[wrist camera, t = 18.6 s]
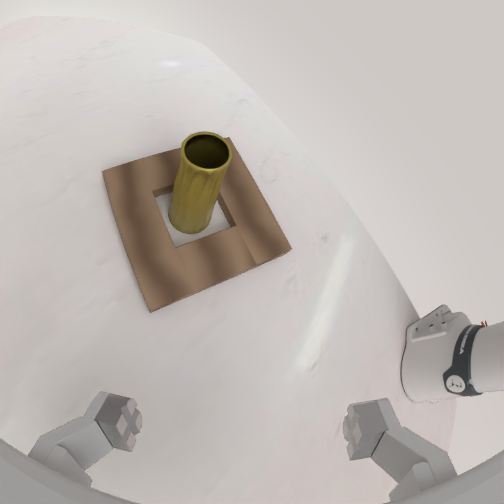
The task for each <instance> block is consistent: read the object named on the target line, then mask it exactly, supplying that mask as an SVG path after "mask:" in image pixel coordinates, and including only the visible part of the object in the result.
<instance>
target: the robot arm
mask: <svg viewBox="0 0 504 504" xmlns="http://www.w3.org/2000/svg"><path fill="white" fill-rule="evenodd" d="M481 324H482V325H472V324H471V322H470V321H469V319H468V318H467V316H466V315H465V314H464V313H462V312H456V313H452V312H451V310H450V309H449V308H448V306H446V305H441V306H439V307H438V308H437V309H435V310H434V311H432V312H431V313H429V314H428V315H426V316H425V317H423V318H422V319H420V320H418V321H417V322H415V323H414V324H412V325H411V326H409V327H408V329H407V344H406V349H405V352H404V356H403V361H402V382H403V387H404V390H405V392H406V394H407V396H408V397H409V398H410V399H411V400H412V401H414V402H424V401H428V402H430V403H437V402H438V401H439V400H444V399H452V398H458V397H462V396H470V397H472V396H476V395H481V394H482V393H484V392H494V391H504V322H501V323H497V324H495V325H491V326H487V323H486V321H485V324H486V327H485V325H484V323H483V322H481ZM136 405H137V404H136V402H135V400H134V399H132V398H127V397H123V396H119V395H114V394H110V393H106V392H102V391H101V392H99V393H98V394H97V395H96V397H95V398H94V400H93V402H92V403H91V405H90V406H89V408H88V410H87V411H86V413H85V415H84V416H83V417H81V416H80V417H78V418H76V419H74V420H72V421H70V422H68V423H66V424H64V425H62V426H60V427H58V428H56V429H54V430H52V431H50V432H48V433H46V434H44V435H42V436H40V437H39V439H38V440H37V442H36V444H35V445H34V447H33V448H32V450H31V451H30V453H29V454H28V456H27V455H25V454H24V453H22V452H20V451H19V450H17V449H16V448H14V447H13V446H11V445H10V444H8V443H7V442H5V441H4V440H2V439H1V438H0V504H139V503H136V502H132V501H129V500H125V499H122V498H119V497H116V496H113V495H110V494H107V493H104V492H102V491H99V490H96V489H94V488H91V487H90V485H91V483H92V479H91V477H90V476H89V475H88V474H87V473H86V472H85V470H86V469H87V468H89V467H90V466H91V465H93V464H94V463H95V462H97V461H98V460H99V459H101V458H102V457H103V456H105V455H106V454H107V453H109V452H110V451H111V450H112V449H113V448H116V449H120V450H125V451H129V452H132V450H133V447H134V445H135V442H136V438H135V435H136V434H138V433H139V432H140V430H141V427H142V416H141V413H140V411H138V410H137V409H136V408H135V407H136ZM347 412H348V415H347V416H346V417H345V418H344V422H343V434H344V439H346V440H347V441H348V442H349V443H348V445H347V451H348V455H349V459H350V460H357V459H363V458H368V457H371V459H372V460H373V461H374V462H375V463H376V464H378V465H379V466H380V467H381V468H382V469H383V470H384V471H385V472H386V473H388V474H389V475H390V476H391V477H392V478H393V479H394V480H396V481H397V482H398V485H397V486H396V487H395V488H394V489H393V490H392V491H391V492H390V494H389V497H390V501H391V502H387V503H384V504H504V450H503V451H501V452H500V453H498V454H497V455H495V456H493V457H492V458H490V459H488V460H487V461H485V462H483V463H481V464H480V465H478V466H476V467H474V468H472V469H470V470H468V471H466V472H464V473H462V474H460V475H457V473H456V471H455V469H454V466H453V464H452V462H451V460H450V458H449V456H448V454H447V452H446V451H444V450H442V449H440V448H439V447H437V446H435V445H434V444H432V443H430V442H429V441H427V440H425V439H424V438H422V437H420V436H419V435H417V434H415V433H414V432H412V431H411V430H409V429H407V428H406V427H401V426H400V423H399V421H398V419H397V417H396V414H395V412H394V410H393V408H392V406H391V404H390V401H389V399H387V398H383V399H378V400H371V401H365V402H359V403H352V404H349V406H348V408H347Z"/></svg>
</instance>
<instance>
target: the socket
mask: <svg viewBox="0 0 504 504" xmlns="http://www.w3.org/2000/svg"><path fill="white" fill-rule="evenodd" d="M224 139H225V140H226V141H227V142H228V143H229V145H230V147H231V151H232V158H231V160H230V163H229V165H228V167H227V170H226V173H225V175H224V178H223V181H222V184H221V187H220V190H219V193H218V196H217V200H218V202H219V204H220V206H221V208H222V210H223V212H224V214H225V216H226V218H227V220H228V222H229V224H230V226H231V228H229V229H226V230H223V231H220V232H218V233H215V234H212V235H209V236H207V237H204V238H201V239H198V240H196V241H193V242H190V243H188V244H185V245H182V246H180V247H177V248H175V246H174V244H173V242H172V239H171V237H170V234H169V232H168V230H167V227H166V225H165V222H164V220H163V217H162V215H161V212H160V210H159V207H158V205H157V202H156V200H155V197H157V196H160V195H163V194H166V193H169V192H172V191H173V188H174V182H175V179H176V176H177V173H178V169H179V163H180V157H181V148H178V149H174V150H170V151H167V152H163V153H159V154H155V155H152V156H148V157H145V158H141V159H138V160H135V161H132V162H128V163H125V164H122V165H119V166H116V167H113V168H110V169H107V170H104V171H102V172H103V177H104V181H105V184H106V188H107V192H108V195H109V199H110V202H111V206H112V209H113V212H114V216H115V219H116V222H117V225H118V228H119V231H120V234H121V237H122V240H123V243H124V246H125V249H126V252H127V255H128V257H129V260H130V263H131V265H132V268H133V271H134V273H135V276H136V279H137V281H138V284H139V286H140V289H141V291H142V294H143V296H144V298H145V301H146V303H147V305H148V308H149V310H150V312H153V311H156V310H158V309H160V308H163V307H165V306H167V305H170V304H172V303H174V302H177V301H179V300H181V299H184V298H186V297H188V296H191V295H193V294H195V293H198V292H200V291H202V290H205V289H207V288H209V287H212V286H214V285H216V284H219V283H221V282H223V281H225V280H228V279H230V278H232V277H235V276H237V275H239V274H241V273H244V272H246V271H248V270H251V269H253V268H255V267H257V266H260V265H262V264H264V263H266V262H269V261H271V260H273V259H275V258H278V257H280V256H282V255H284V254H286V253H288V252H289V251H290V250H291V249H292V248H291V246H290V244H289V242H288V241H287V239H286V237H285V235H284V233H283V231H282V230H281V228H280V226H279V224H278V222H277V220H276V218H275V217H274V215H273V213H272V211H271V209H270V208H269V206H268V204H267V202H266V200H265V199H264V197H263V195H262V193H261V191H260V190H259V188H258V186H257V184H256V183H255V181H254V179H253V177H252V176H251V174H250V172H249V170H248V169H247V167H246V165H245V163H244V162H243V160H242V158H241V156H240V155H239V153H238V151H237V150H236V148H235V146H234V144H233V143H232V141H231V139H230V138H229V137H228V138H224Z"/></svg>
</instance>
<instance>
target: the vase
mask: <svg viewBox="0 0 504 504" xmlns="http://www.w3.org/2000/svg"><path fill="white" fill-rule="evenodd" d="M231 158H232V151H231V147H230V145H229V143H228V142H227V141H226V140H225V139H224V138H222V137H221V136H219V135H218V134H215V133H212V132H197V133H194V134H192V135H190V136H188V137H187V138H186V139H185V140H184V141H183V143H182V146H181V157H180V163H179V169H178V173H177V176H176V179H175V182H174V188H173V197H172V201H171V205H170V208H169V219H170V221H171V223H172V225H173V226H174V227H175V228H176V229H178V230H179V231H181V232H184V233H190V234H191V233H197V232H200V231H202V230H204V229H205V228H206V227H207V226H208V224H209V222H210V220H211V215H212V212H213V208H214V205H215V202H216V199H217V196H218V193H219V190H220V187H221V184H222V181H223V178H224V175H225V173H226V170H227V167H228V165H229V163H230V160H231Z"/></svg>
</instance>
